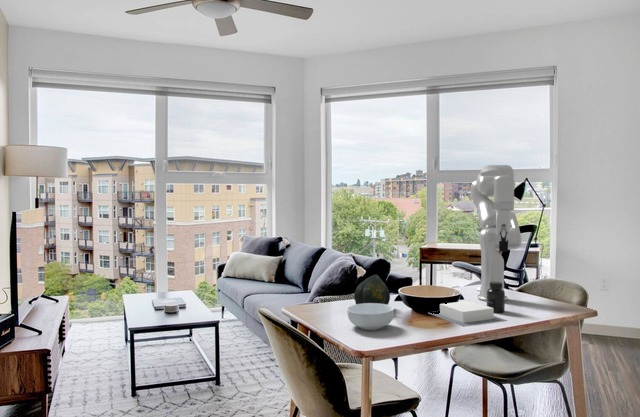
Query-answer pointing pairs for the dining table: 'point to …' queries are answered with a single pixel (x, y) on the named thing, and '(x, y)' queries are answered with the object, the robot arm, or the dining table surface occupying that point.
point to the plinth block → (466, 311)
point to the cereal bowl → (370, 315)
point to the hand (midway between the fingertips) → (503, 250)
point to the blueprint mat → (496, 319)
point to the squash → (372, 291)
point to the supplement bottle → (496, 297)
